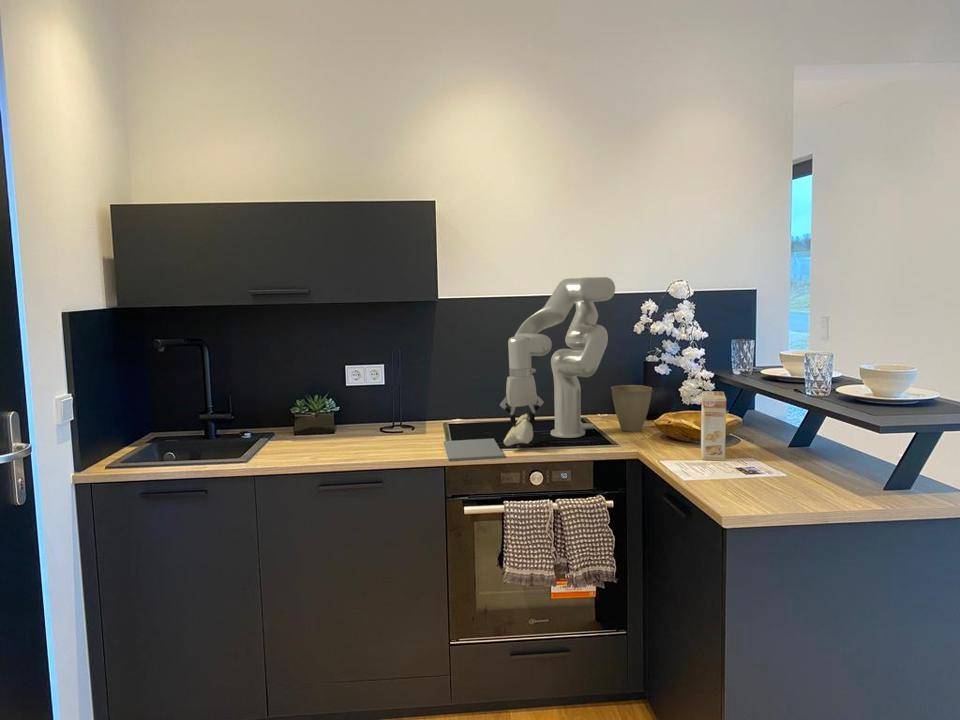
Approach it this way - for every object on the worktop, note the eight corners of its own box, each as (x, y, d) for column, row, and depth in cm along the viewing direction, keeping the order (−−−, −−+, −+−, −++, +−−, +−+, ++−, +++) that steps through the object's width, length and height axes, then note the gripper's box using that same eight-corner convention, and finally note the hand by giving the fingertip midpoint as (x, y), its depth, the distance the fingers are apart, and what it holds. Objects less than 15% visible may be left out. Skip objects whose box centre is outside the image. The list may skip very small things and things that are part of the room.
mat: (493, 440, 249) (493, 438, 249) (504, 457, 225) (504, 455, 225) (443, 443, 247) (443, 441, 246) (448, 461, 223) (448, 458, 223)
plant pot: (657, 433, 253) (657, 390, 251) (617, 435, 252) (617, 391, 250) (645, 424, 268) (645, 383, 266) (607, 426, 267) (606, 385, 265)
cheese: (523, 456, 227) (551, 422, 232) (507, 441, 227) (535, 407, 231) (509, 458, 242) (535, 427, 246) (494, 444, 241) (520, 413, 246)
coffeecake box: (726, 461, 214) (727, 399, 211) (701, 460, 216) (702, 398, 213) (723, 449, 228) (724, 390, 226) (700, 448, 230) (701, 390, 228)
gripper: (543, 369, 239) (544, 420, 242) (494, 372, 237) (496, 424, 240) (547, 372, 232) (549, 425, 235) (497, 376, 230) (499, 429, 233)
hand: (522, 424), depth 237 cm, fingers closed on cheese, 5 cm apart
